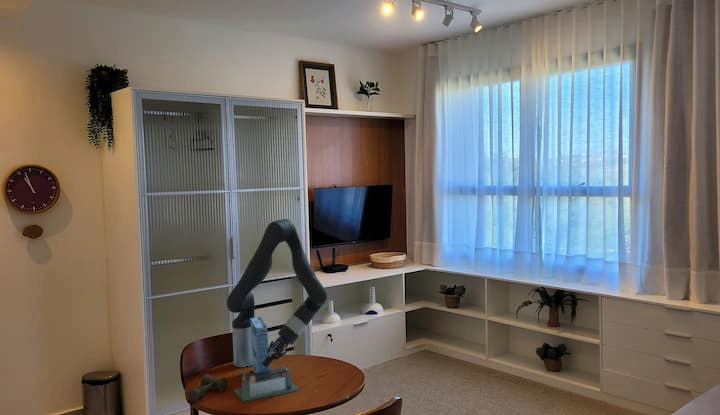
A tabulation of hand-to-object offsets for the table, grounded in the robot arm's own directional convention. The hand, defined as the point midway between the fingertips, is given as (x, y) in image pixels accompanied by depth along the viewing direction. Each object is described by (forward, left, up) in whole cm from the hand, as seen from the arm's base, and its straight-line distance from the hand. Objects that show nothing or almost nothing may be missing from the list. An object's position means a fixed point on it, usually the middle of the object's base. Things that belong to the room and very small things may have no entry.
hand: (264, 365), depth 218 cm
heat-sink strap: (0, +1, -4) cm, 4 cm away
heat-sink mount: (0, 0, -10) cm, 10 cm away
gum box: (-18, +4, -10) cm, 21 cm away
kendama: (-11, -19, -10) cm, 24 cm away
